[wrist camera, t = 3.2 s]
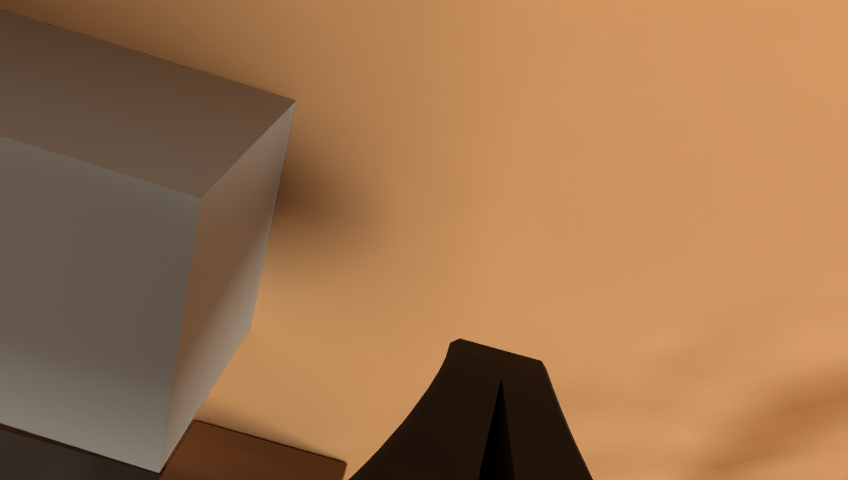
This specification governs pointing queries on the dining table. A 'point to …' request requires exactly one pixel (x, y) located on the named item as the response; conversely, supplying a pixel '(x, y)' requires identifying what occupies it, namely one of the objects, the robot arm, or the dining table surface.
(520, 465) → the robot arm
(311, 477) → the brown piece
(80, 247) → the block
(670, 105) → the dining table surface
